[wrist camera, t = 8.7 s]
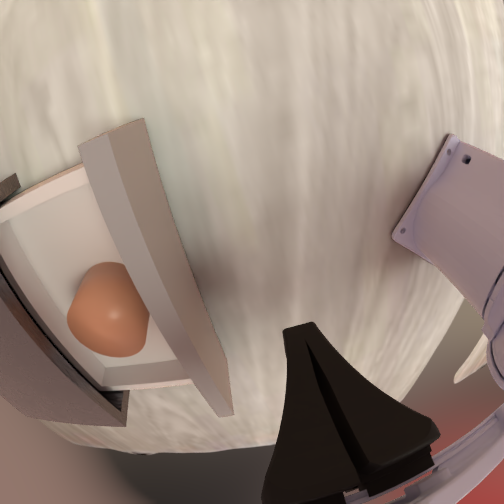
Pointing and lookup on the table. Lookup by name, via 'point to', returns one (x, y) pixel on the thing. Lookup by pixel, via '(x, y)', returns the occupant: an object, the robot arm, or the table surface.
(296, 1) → the table surface
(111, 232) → the tray
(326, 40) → the table surface
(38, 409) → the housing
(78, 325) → the orange rounded part
